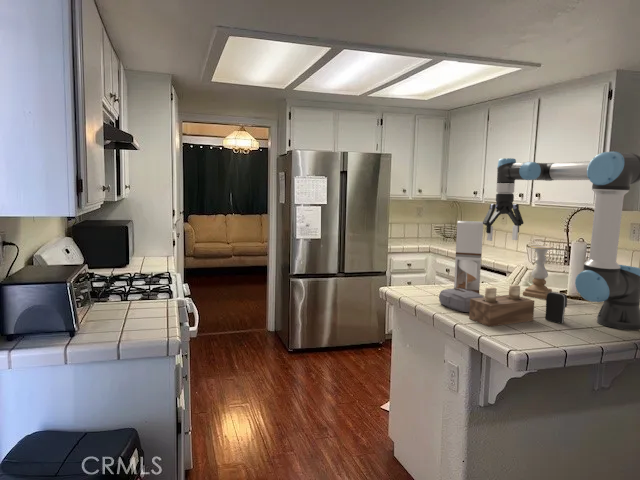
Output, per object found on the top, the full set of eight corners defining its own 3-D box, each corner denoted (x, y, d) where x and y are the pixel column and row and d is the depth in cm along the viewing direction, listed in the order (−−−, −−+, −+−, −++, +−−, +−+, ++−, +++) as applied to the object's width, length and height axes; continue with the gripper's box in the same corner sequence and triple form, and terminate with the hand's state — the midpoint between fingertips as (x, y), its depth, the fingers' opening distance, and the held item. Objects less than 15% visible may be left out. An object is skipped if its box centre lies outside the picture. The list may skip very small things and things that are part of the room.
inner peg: (521, 302, 189) (522, 286, 189) (513, 303, 188) (514, 287, 187) (513, 300, 193) (514, 284, 192) (506, 301, 192) (507, 285, 191)
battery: (566, 322, 187) (569, 293, 185) (561, 324, 184) (564, 294, 183) (549, 318, 192) (551, 290, 191) (544, 319, 190) (546, 291, 188)
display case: (453, 296, 226) (457, 222, 222) (454, 292, 236) (458, 220, 232) (479, 299, 223) (483, 223, 219) (479, 294, 233) (483, 221, 229)
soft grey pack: (433, 304, 212) (466, 316, 194) (434, 285, 211) (467, 295, 193) (460, 301, 219) (493, 312, 201) (461, 283, 218) (495, 292, 200)
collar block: (533, 320, 188) (534, 300, 187) (489, 326, 180) (490, 305, 179) (511, 313, 198) (513, 294, 197) (469, 318, 190) (470, 298, 189)
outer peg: (497, 305, 185) (498, 289, 184) (489, 306, 183) (490, 289, 182) (490, 302, 188) (491, 286, 188) (482, 303, 187) (483, 287, 186)
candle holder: (530, 292, 239) (534, 244, 236) (554, 295, 232) (557, 246, 229) (522, 295, 231) (525, 246, 229) (545, 299, 224) (549, 248, 221)
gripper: (522, 193, 224) (519, 238, 226) (476, 192, 216) (473, 239, 219) (533, 193, 217) (530, 240, 219) (486, 193, 209) (484, 241, 212)
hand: (502, 240), depth 219 cm, fingers open, 13 cm apart
